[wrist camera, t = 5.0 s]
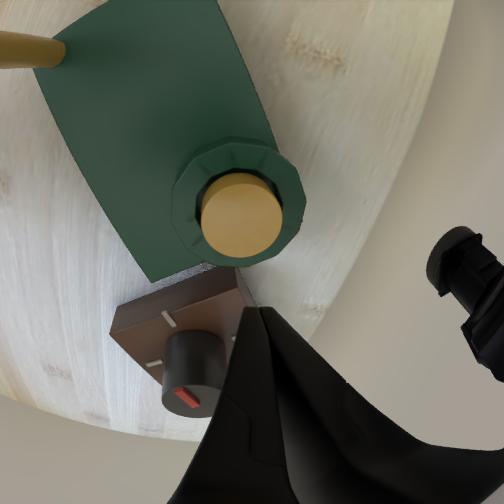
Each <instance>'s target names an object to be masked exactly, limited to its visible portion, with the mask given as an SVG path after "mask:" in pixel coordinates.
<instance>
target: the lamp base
mask: <svg viewBox="0 0 504 504" xmlns="http://www.w3.org/2000/svg"><path fill="white" fill-rule="evenodd" d="M52 39H55V40H60V41H62V42H63V43H64V45H65V48H66V52H65V56H64V58H63V60H62V61H61V62H60V63H59V64H58V65H57V66H55V67H53V68H33V71H34V73H35V76H36V78H37V81H38V83H39V86H40V88H41V90H42V93H43V95H44V97H45V100H46V102H47V104H48V106H49V109H50V111H51V113H52V115H53V117H54V119H55V122H56V124H57V126H58V128H59V130H60V132H61V134H62V136H63V138H64V140H65V142H66V144H67V146H68V148H69V150H70V152H71V154H72V156H73V157H74V159H75V161H76V163H77V165H78V167H79V169H80V170H81V172H82V174H83V176H84V178H85V179H86V181H87V183H88V185H89V187H90V188H91V190H92V192H93V194H94V195H95V197H96V199H97V200H98V202H99V204H100V205H101V207H102V209H103V210H104V212H105V214H106V215H107V217H108V219H109V220H110V222H111V223H112V225H113V227H114V228H115V230H116V231H117V233H118V234H119V236H120V238H121V239H122V241H123V242H124V244H125V245H126V247H127V248H128V250H129V251H130V253H131V254H132V256H133V257H134V259H135V260H136V262H137V263H138V265H139V266H140V268H141V269H142V271H143V272H144V273H145V275H146V276H147V278H148V279H149V281H150V282H151V283H153V282H156V281H158V280H161V279H163V278H166V277H168V276H171V275H173V274H175V273H178V272H180V271H183V270H185V269H188V268H190V267H193V266H195V265H197V264H200V263H202V262H205V261H207V262H209V263H210V264H212V265H216V266H231V267H249V266H252V265H254V264H257V263H259V262H262V261H264V260H267V259H269V258H272V257H274V256H276V255H278V254H279V253H280V252H281V251H282V249H283V248H284V247H285V246H286V245H287V244H288V243H289V242H290V241H291V240H292V239H293V238H294V236H295V235H296V234H297V233H298V231H299V230H300V226H301V223H302V222H303V220H302V218H303V214H304V210H305V206H306V197H305V193H304V190H303V187H302V184H301V181H300V178H299V175H298V172H297V170H296V168H295V167H294V166H293V165H292V164H291V163H290V162H289V161H288V160H287V159H285V158H284V157H283V156H282V155H281V154H280V152H279V150H278V147H277V144H276V141H275V139H274V136H273V133H272V131H271V128H270V125H269V123H268V120H267V117H266V115H265V112H264V110H263V107H262V105H261V102H260V99H259V97H258V94H257V92H256V89H255V87H254V85H253V82H252V80H251V77H250V75H249V72H248V70H247V68H246V65H245V63H244V60H243V58H242V56H241V53H240V51H239V49H238V47H237V44H236V42H235V40H234V37H233V35H232V33H231V31H230V28H229V26H228V24H227V22H226V20H225V18H224V15H223V13H222V11H221V9H220V7H219V5H218V3H217V1H216V0H109V1H108V2H106V3H104V4H102V5H101V6H99V7H97V8H96V9H94V10H92V11H91V12H89V13H88V14H86V15H84V16H83V17H81V18H80V19H78V20H77V21H75V22H74V23H72V24H71V25H69V26H68V27H67V28H65V29H64V30H62V31H61V32H60V33H58V34H57V35H56V36H54V37H53V38H52ZM232 173H248V174H252V175H254V176H257V177H259V178H260V179H262V180H263V181H264V182H265V183H266V184H267V185H268V186H269V187H270V189H271V191H272V192H273V194H274V196H275V197H276V199H277V201H278V203H279V205H280V207H281V210H282V216H283V218H282V227H281V230H280V232H279V235H278V237H277V238H276V240H275V241H274V242H273V243H272V244H271V245H270V246H269V247H268V248H267V249H265V250H264V251H262V252H260V253H258V254H256V255H253V256H249V257H242V258H238V257H230V256H227V255H224V254H222V253H220V252H218V251H216V250H215V249H214V248H213V247H211V246H210V244H209V243H208V242H207V241H206V239H205V237H204V235H203V232H202V228H201V209H202V200H203V197H204V195H205V193H206V191H207V189H208V188H209V187H210V186H211V184H212V183H214V182H215V181H216V180H218V179H219V178H221V177H223V176H225V175H228V174H232Z"/></svg>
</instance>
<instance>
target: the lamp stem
mask: <svg viewBox="0 0 504 504" xmlns="http://www.w3.org/2000/svg"><path fill="white" fill-rule="evenodd" d="M65 52H66V48H65V45H64V43H63V42H62V41H60V40H55V39H50V38H45V37H40V36H35V35H29V34H22V33H15V32H8V31H0V69H11V68H53V67H55V66H57V65H58V64H59V63H60V62H61V61H62V60H63V58H64V56H65Z"/></svg>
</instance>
